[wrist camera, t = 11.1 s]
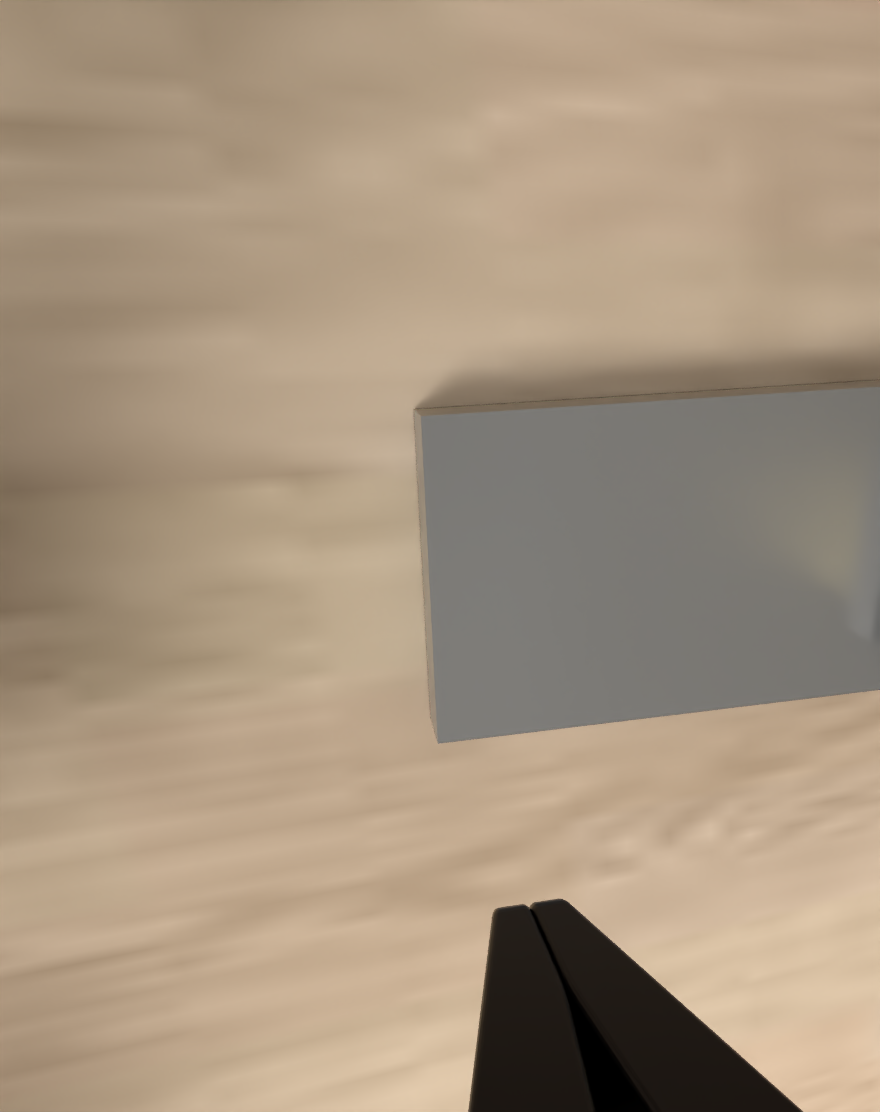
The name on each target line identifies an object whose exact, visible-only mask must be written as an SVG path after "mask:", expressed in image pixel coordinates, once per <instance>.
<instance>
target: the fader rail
mask: <svg viewBox="0 0 880 1112" xmlns="http://www.w3.org/2000/svg"><path fill="white" fill-rule="evenodd" d="M413 410H414V428H415V446H416V465H417V483H418V502H419V520H420V538H421V557H422V575H423V594H424V612H425V631H426V649H427V667H428V686H429V704H430V718H431V721H432V725H433V729H434V732H435V736H436V739H437V743H438V744H439V743H447V742H455V741H463V740H471V739H480V738H488V737H496V736H504V735H512V734H521V733H529V732H537V731H545V730H554V729H562V728H570V727H578V726H586V725H595V724H603V723H611V722H619V721H627V720H636V719H644V718H652V717H660V716H669V715H677V714H685V713H693V712H701V711H710V710H718V709H726V708H734V707H742V706H751V705H759V704H767V703H775V702H783V701H792V700H800V699H808V698H816V697H825V696H833V695H841V694H849V693H857V692H866V691H874V690H880V380H869V381H853V382H837V383H821V384H805V385H789V386H773V387H758V388H742V389H726V390H710V391H694V392H678V393H662V394H646V395H631V396H615V397H599V398H583V399H567V400H551V401H535V402H519V403H504V404H488V405H472V406H456V407H440V408H424V409H413Z"/></svg>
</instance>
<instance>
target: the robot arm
mask: <svg viewBox="0 0 880 1112" xmlns="http://www.w3.org/2000/svg"><path fill="white" fill-rule="evenodd" d="M468 1112H803V1111H802V1110H801V1109H800V1108H799V1107H797V1106H796V1105H795V1104H794V1103H793V1102H792V1101H791V1100H790V1099H788V1098H787V1097H786V1096H785V1095H784V1094H783V1093H782V1092H781V1091H779V1090H778V1089H777V1088H776V1087H775V1086H774V1085H773V1084H772V1083H770V1082H769V1081H768V1080H767V1079H766V1078H765V1077H764V1076H763V1075H762V1074H760V1073H759V1072H758V1071H757V1070H756V1069H755V1068H754V1067H753V1066H751V1065H750V1064H749V1063H748V1062H747V1061H746V1060H745V1059H744V1058H742V1057H741V1056H740V1055H739V1054H738V1053H737V1052H736V1051H735V1050H733V1049H732V1048H731V1047H730V1046H729V1045H728V1044H727V1043H726V1042H724V1041H723V1040H722V1039H721V1038H720V1037H719V1036H718V1035H717V1034H716V1033H714V1032H713V1031H712V1030H711V1029H710V1028H709V1027H708V1026H707V1025H705V1024H704V1023H703V1022H702V1021H701V1020H700V1019H699V1018H698V1017H696V1016H695V1015H694V1014H693V1013H692V1012H691V1011H690V1010H689V1009H687V1008H686V1007H685V1006H684V1005H683V1004H682V1003H681V1002H680V1001H678V1000H677V999H676V998H675V997H674V996H673V995H672V994H671V993H670V992H668V991H667V990H666V989H665V988H664V987H663V986H662V985H661V984H659V983H658V982H657V981H656V980H655V979H654V978H653V977H652V976H650V975H649V974H648V973H647V972H646V971H645V970H644V969H643V968H641V967H640V966H639V965H638V964H637V963H636V962H635V961H634V960H632V959H631V958H630V957H629V956H628V955H627V954H626V953H625V952H624V951H622V950H621V949H620V948H619V947H618V946H617V945H616V944H615V943H613V942H612V941H611V940H610V939H609V938H608V937H607V936H606V935H604V934H603V933H602V932H601V931H600V930H599V929H598V928H597V927H595V926H594V925H593V924H592V923H591V922H590V921H589V920H588V919H586V918H585V917H584V916H583V915H582V914H581V913H580V912H579V911H578V910H576V909H575V908H574V907H573V906H572V905H571V904H570V903H568V902H567V901H565V900H563V899H554V900H547V901H541V902H535V903H533V904H532V905H531V906H530V907H528V906H526V905H524V904H521V905H514V906H507V907H501V908H497V909H495V910H494V912H493V916H492V923H491V931H490V939H489V947H488V956H487V964H486V972H485V980H484V988H483V996H482V1004H481V1012H480V1021H479V1029H478V1037H477V1045H476V1053H475V1061H474V1069H473V1078H472V1086H471V1094H470V1102H469V1110H468Z"/></svg>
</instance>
